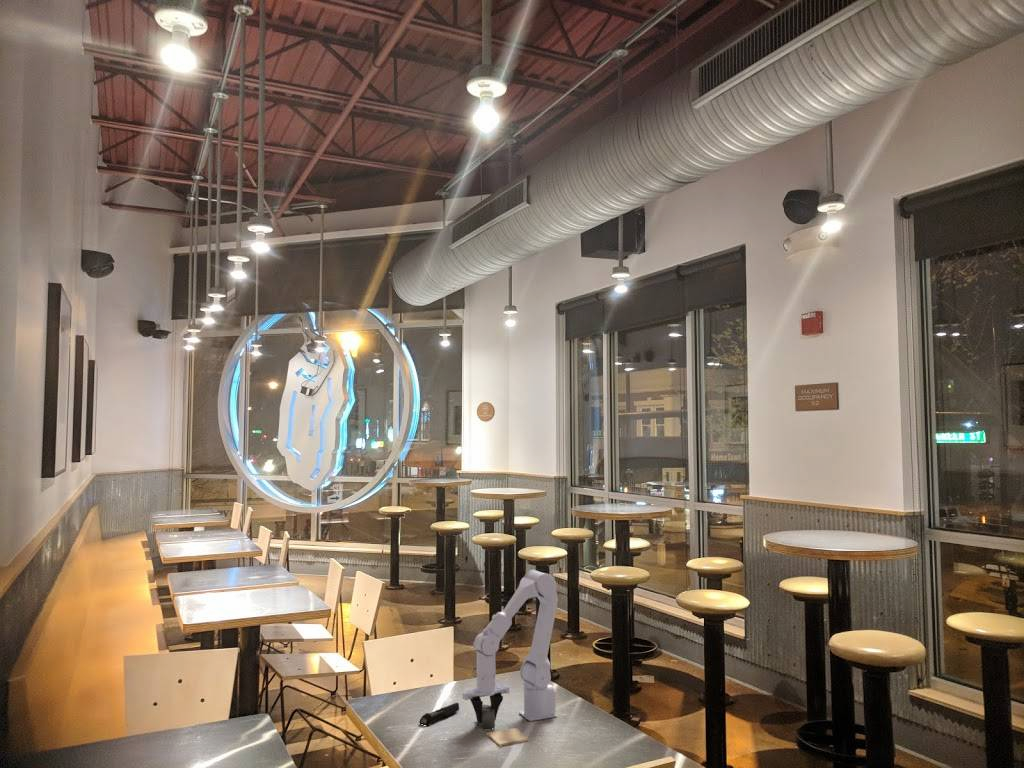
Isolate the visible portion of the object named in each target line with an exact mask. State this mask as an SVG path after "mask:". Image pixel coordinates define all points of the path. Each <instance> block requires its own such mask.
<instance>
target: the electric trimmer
mask: <svg viewBox="0 0 1024 768" xmlns="http://www.w3.org/2000/svg"><path fill="white" fill-rule="evenodd" d="M459 710H460V704H459V702H455V703H453V704H449V705H447V706H444V707H442V708H440V709H436V710H435V711H432V712H428V713H427V712H426V713H424V714H423V715H422V716H421V718H420V720H419V721H418V722H419V723H420V724H423V725H426V726H425V727H428V726H427V725H429V726H430V725H431V724H432V723H434V722H436V721H438V720H441V719H444V718H443V717H446V718H448V717H450V716H452V715H453V714H455V713H457V712H459ZM420 724H419V725H420ZM423 725H422V726H423Z"/></svg>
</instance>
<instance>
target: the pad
mask: <svg viewBox="0 0 1024 768" xmlns="http://www.w3.org/2000/svg"><path fill="white" fill-rule="evenodd" d="M487 736H488V737H489V738H490V737H491V738H492V739H493V740H494V741H495V742H496V743H497V744H498V745H497V744H496V743H495V742H494V741H493V740H492V739H491V738H490V739H491V740H492V741H493V742H494V743H495V744H496V745H497V746H498V747H503V746H502V745H505V746H509V745H514V744H520V743H519V742H521V743H525V742H524V741H526V742H529V738H528V737H527V736H526V735H525V734H524V733H522V732H521V731H520V730H519V729H518V728H517V727H513V728H509V729H504V730H497V731H492V732H491V731H490V732H487Z"/></svg>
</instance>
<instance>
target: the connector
mask: <svg viewBox="0 0 1024 768" xmlns="http://www.w3.org/2000/svg"><path fill="white" fill-rule="evenodd" d="M478 724H479V725H480V726H481V727H482V728H483V730H484V729H492V728H494V727H495V728H496V720H495V709H494V708H492V707H491V704H482V722H481V723H479V722H477V725H478ZM479 725H478V726H479ZM480 726H479V727H480ZM481 727H480V728H481ZM482 728H481V729H482ZM495 728H494V729H495ZM492 730H493V729H492Z"/></svg>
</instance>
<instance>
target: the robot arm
mask: <svg viewBox="0 0 1024 768" xmlns="http://www.w3.org/2000/svg"><path fill="white" fill-rule="evenodd" d="M557 592H558V590H557V581H556V580H555V578H554V577H553V575H551V574H549V573H546V572H541V571H538V570H536V569H530V570H528V571H527V572H526V573H525V574H524V576H523V577H522V578H521V579H520V581H519V585H518V587H517V589H515V591H514V594H513V595H512V597H511V598H510V599H509V601H508V602H507V604H506V605H505V607H504V609H503V611H497V612H496V613H495V614H493V615H492V617H491V621H490V622H489V623H488V624H487V626H486V627H485V628H483V630H482V632H481V633H478V634H477V635H476V637H475V638H474V641H473V642H472V644H473V648H474V650H475V652H476V687H475V688H472V689H469V690H466V691H462V699H463V700H464V701H468V700H470V702H471V705H472V707H473V710H474V714H475V718H476V722H477V723H478V722H479V723H481V722H482V705H484V703H483V701H482V698H483V697H489V700H490V706H491V707H492V708H494V709H495V721H496V720H497V715H498V712H499V708H500V707H501V706H500V705H502V702H503V700H504V696H503V694H506V695H508V694H510V686H509V685H507V684H505V685H496V682H497V679H496V676H497V675H496V653H497V652H498V651H499V648H500V642H501V640H502V639H503V638H504V636H505V635H506V633H507V631H508V630H509V629H510V627H511V626H512V624H513V623H512V621H513V617H514V616H515V615H516V614H517V612H518V611H519V610H520V609H521V607H522V606H524V603H526V601H527V600H529V599H530V598H537V600H539V601H538V602H539V607H538V612H537V617H536V622H535V628H534V632H533V638H532V641H531V646H530V647H531V648H530V652H529V653H528V654H527V655H525V657H524V660H523V663H522V665H521V666H520V670H519V674H520V675H519V676H520V678H521V680H523V710H520V711H518V713H519V715H520V716H522V717H523V718H525V719H526V720H528V721H529V722H534V721H539V720H546V719H551V718H557V717H558V716H557V715H558V714H557V713H556V691H555V688H554V686H553V685H552V684H550V682H551V679H552V676H551V675H552V674H551V663H550V660H549V658H548V655H549V649H550V645H551V644H550V643H551V638H552V634H553V627H554V623H555V618H556V615H557V614H556V613H557V608H558V602H559V596H558V593H557Z"/></svg>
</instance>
